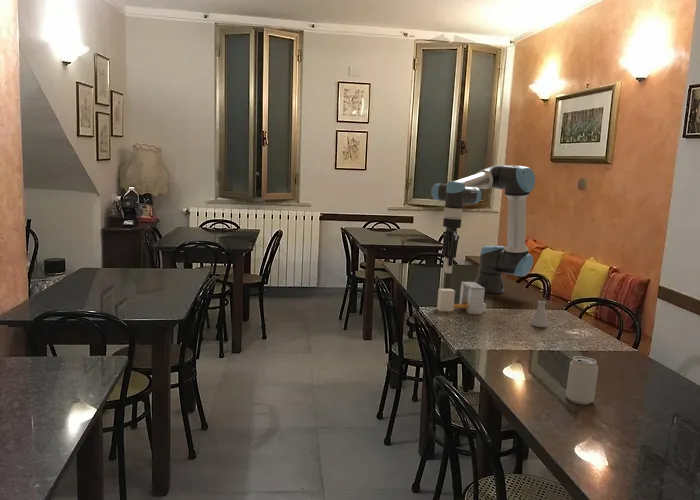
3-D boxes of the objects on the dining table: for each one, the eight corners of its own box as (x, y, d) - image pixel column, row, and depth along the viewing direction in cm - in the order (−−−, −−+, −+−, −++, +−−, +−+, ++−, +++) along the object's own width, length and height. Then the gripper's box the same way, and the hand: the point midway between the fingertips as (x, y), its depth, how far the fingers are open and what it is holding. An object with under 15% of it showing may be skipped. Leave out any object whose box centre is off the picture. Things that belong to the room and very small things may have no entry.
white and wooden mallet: (481, 309, 267) (483, 289, 265) (485, 311, 263) (487, 291, 262) (436, 308, 262) (438, 288, 261) (439, 311, 259) (441, 290, 257)
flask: (549, 329, 242) (552, 304, 241) (530, 326, 244) (533, 302, 242) (547, 324, 249) (550, 300, 248) (529, 322, 251) (532, 298, 249)
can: (560, 394, 172) (565, 354, 170) (585, 395, 172) (591, 355, 170) (572, 405, 164) (578, 363, 162) (598, 406, 165) (604, 364, 163)
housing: (471, 307, 270) (474, 282, 268) (482, 314, 258) (485, 288, 257) (458, 306, 269) (461, 281, 267) (469, 313, 257) (471, 287, 255)
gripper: (467, 220, 248) (462, 276, 252) (454, 216, 263) (449, 269, 267) (450, 219, 247) (445, 275, 250) (438, 215, 262) (433, 268, 265)
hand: (447, 272), depth 259 cm, fingers open, 2 cm apart
